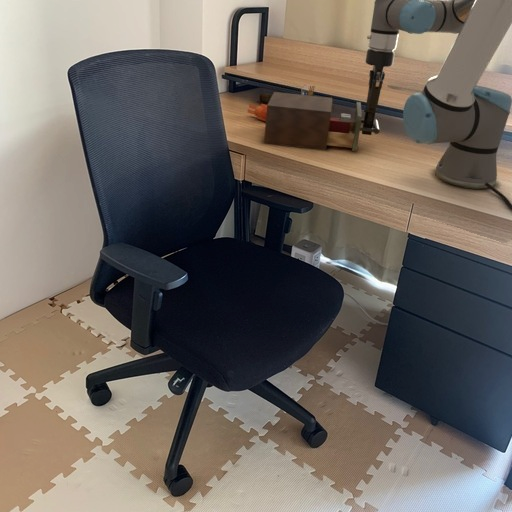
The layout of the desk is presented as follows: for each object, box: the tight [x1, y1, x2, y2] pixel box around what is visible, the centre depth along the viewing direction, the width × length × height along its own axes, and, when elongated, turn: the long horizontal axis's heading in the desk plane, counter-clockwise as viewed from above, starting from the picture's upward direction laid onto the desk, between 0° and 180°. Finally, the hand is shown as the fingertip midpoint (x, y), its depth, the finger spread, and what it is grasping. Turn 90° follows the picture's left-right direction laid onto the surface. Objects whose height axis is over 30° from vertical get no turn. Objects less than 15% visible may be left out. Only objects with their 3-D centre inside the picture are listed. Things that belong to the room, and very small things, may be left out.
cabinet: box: [263, 91, 333, 151], centre depth 156 cm, size 18×17×11 cm
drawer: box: [327, 101, 381, 152], centre depth 155 cm, size 24×17×10 cm
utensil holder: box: [300, 85, 315, 96], centre depth 174 cm, size 6×6×12 cm
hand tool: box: [259, 91, 273, 105], centre depth 186 cm, size 19×4×5 cm, turn 37°
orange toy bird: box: [247, 103, 268, 122], centre depth 173 cm, size 5×8×12 cm
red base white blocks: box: [329, 113, 352, 134], centre depth 155 cm, size 7×3×6 cm, turn 82°
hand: (366, 133), depth 155 cm, fingers closed
